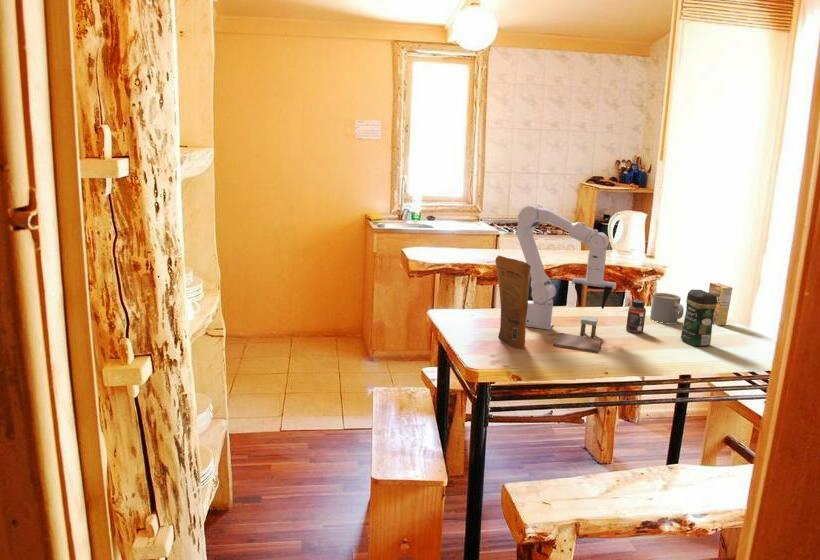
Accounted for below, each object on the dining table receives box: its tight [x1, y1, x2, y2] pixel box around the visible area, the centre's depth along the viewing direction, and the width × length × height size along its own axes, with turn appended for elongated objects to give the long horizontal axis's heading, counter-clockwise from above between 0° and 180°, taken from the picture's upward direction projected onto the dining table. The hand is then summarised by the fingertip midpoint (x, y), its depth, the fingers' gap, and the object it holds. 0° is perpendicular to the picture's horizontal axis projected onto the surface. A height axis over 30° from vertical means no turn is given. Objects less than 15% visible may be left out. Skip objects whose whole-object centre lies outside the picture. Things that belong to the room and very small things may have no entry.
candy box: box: [707, 282, 733, 326], centre depth 240 cm, size 9×4×15 cm, turn 8°
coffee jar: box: [680, 289, 717, 348], centre depth 210 cm, size 10×8×19 cm
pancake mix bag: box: [495, 255, 531, 350], centre depth 199 cm, size 7×19×28 cm, turn 19°
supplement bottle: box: [625, 299, 647, 334], centre depth 222 cm, size 6×6×11 cm
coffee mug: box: [649, 292, 685, 324], centre depth 238 cm, size 13×10×10 cm
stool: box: [579, 316, 599, 338], centre depth 214 cm, size 5×5×6 cm
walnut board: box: [553, 332, 603, 354], centre depth 204 cm, size 14×14×1 cm
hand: (591, 306), depth 212 cm, fingers open, 7 cm apart
